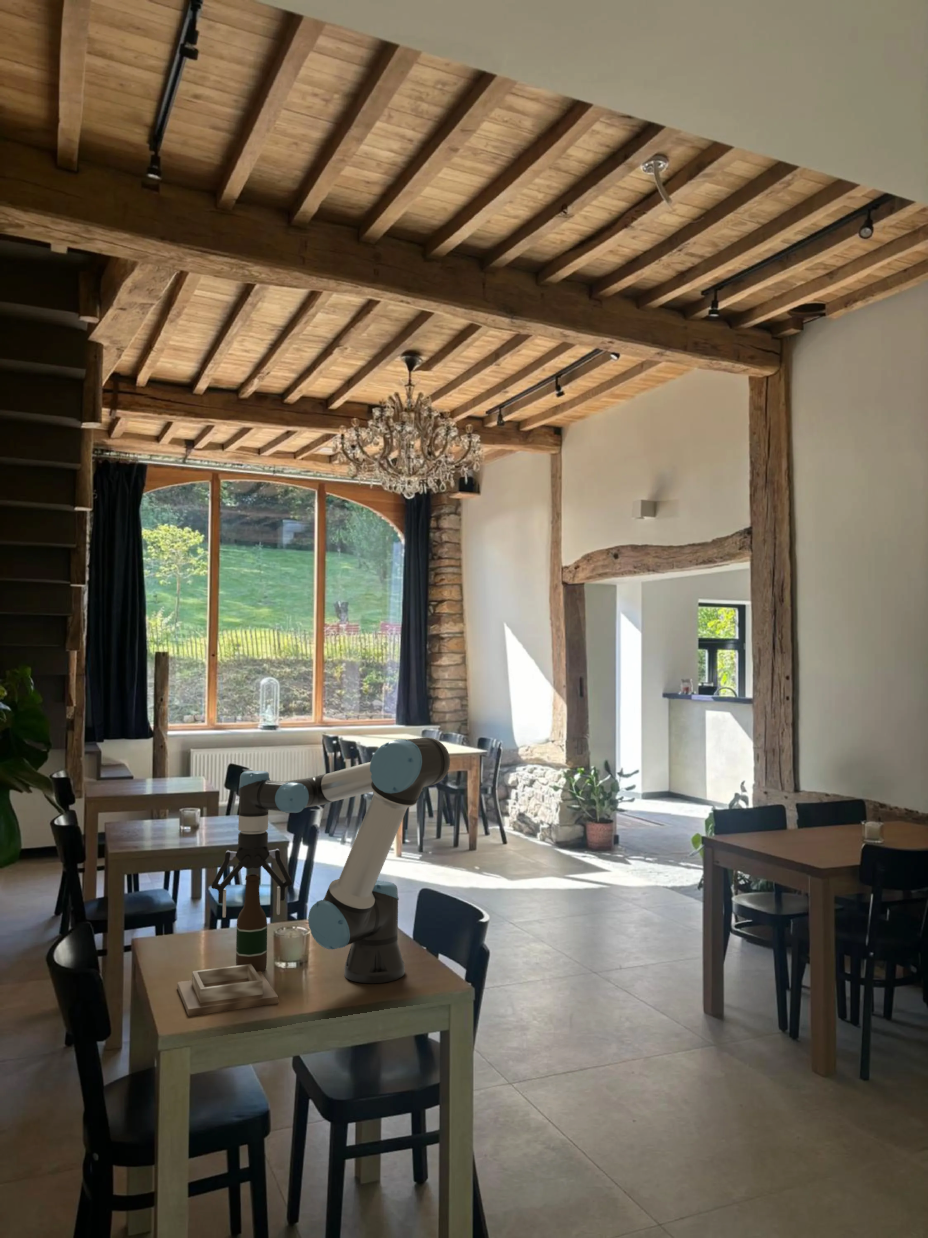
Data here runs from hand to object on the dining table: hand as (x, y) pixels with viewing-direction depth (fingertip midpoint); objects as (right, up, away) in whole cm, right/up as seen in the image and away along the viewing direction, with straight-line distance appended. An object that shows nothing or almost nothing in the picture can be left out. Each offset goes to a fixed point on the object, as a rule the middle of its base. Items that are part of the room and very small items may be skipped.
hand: (251, 915), depth 237 cm
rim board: (-1, -13, -20) cm, 24 cm away
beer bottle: (0, -14, -1) cm, 14 cm away
